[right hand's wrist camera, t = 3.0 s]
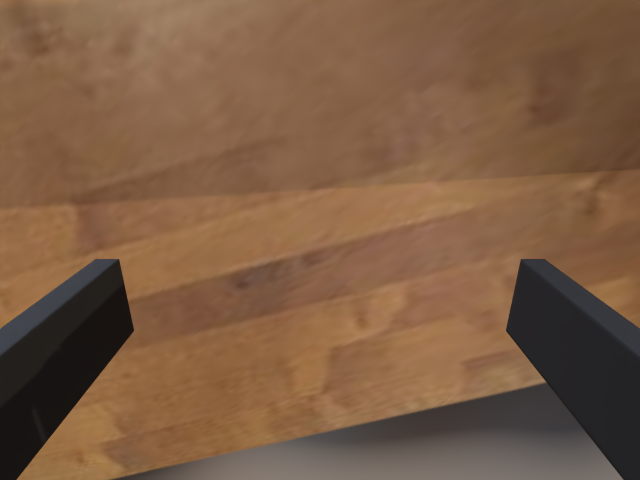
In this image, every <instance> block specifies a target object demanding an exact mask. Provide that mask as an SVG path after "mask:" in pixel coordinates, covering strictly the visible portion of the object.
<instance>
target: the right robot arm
mask: <svg viewBox="0 0 640 480" xmlns="http://www.w3.org/2000/svg"><path fill="white" fill-rule="evenodd" d="M133 331H134V328H133V323H132V319H131V314H130V309H129V304H128V300H127V295H126V290H125V285H124V281H123V276H122V271H121V266H120V262H119V259H95V260H94V261H92V262H91V263H90V264H88V265H87V266H86V267H84V268H83V269H81V270H80V271H79V272H77V273H76V274H75V275H73V276H72V277H70V278H69V279H68V280H66V281H65V282H64V283H62V284H61V285H60V286H58V287H57V288H55V289H54V290H53V291H51V292H50V293H49V294H47V295H46V296H44V297H43V298H42V299H40V300H39V301H38V302H36V303H35V304H34V305H32V306H31V307H29V308H28V309H27V310H25V311H24V312H23V313H21V314H20V315H18V316H17V317H16V318H14V319H13V320H12V321H10V322H9V323H7V324H6V325H5V326H3V327H2V328H1V329H0V480H16V479H17V478H18V477H19V476H20V474H21V473H22V472H23V471H24V469H25V468H26V467H27V466H28V464H29V463H30V462H31V460H32V459H33V458H34V457H35V455H36V454H37V453H38V452H39V450H40V449H41V448H42V447H43V445H44V444H45V443H46V441H47V440H48V439H49V438H50V436H51V435H52V434H53V433H54V431H55V430H56V429H57V428H58V426H59V425H60V424H61V422H62V421H63V420H64V419H65V417H66V416H67V415H68V414H69V412H70V411H71V410H72V409H73V407H74V406H75V405H76V404H77V402H78V401H79V400H80V398H81V397H82V396H83V395H84V393H85V392H86V391H87V390H88V388H89V387H90V386H91V385H92V383H93V382H94V381H95V379H96V378H97V377H98V376H99V374H100V373H101V372H102V371H103V369H104V368H105V367H106V366H107V364H108V363H109V362H110V360H111V359H112V358H113V357H114V355H115V354H116V353H117V352H118V350H119V349H120V348H121V347H122V345H123V344H124V343H125V341H126V340H127V339H128V338H129V336H130V335H131V334H132V333H133ZM506 331H507V333H508V334H509V335H510V336H511V338H512V339H513V340H514V341H515V343H516V344H517V345H518V347H519V348H520V349H521V350H522V352H523V353H524V354H525V355H526V357H527V358H528V359H529V360H530V362H531V363H532V364H533V366H534V367H535V368H536V369H537V371H538V372H539V373H540V374H541V376H542V377H543V378H544V379H545V381H546V382H547V383H548V384H549V386H550V387H551V388H552V390H553V391H554V392H555V393H556V395H557V396H558V397H559V398H560V400H561V401H562V402H563V404H564V405H565V406H566V407H567V409H568V410H569V411H570V412H571V414H572V415H573V416H574V417H575V419H576V420H577V421H578V422H579V424H580V425H581V426H582V428H583V429H584V430H585V431H586V433H587V434H588V435H589V436H590V438H591V439H592V440H593V441H594V443H595V444H596V445H597V447H598V448H599V449H600V450H601V452H602V453H603V454H604V455H605V457H606V458H607V459H608V460H609V462H610V463H611V464H612V466H613V467H614V468H615V469H616V471H617V472H618V473H619V474H620V476H621V477H622V478H623V479H624V480H640V329H639V328H638V327H637V326H635V325H634V324H633V323H631V322H630V321H628V320H627V319H626V318H624V317H623V316H622V315H620V314H619V313H617V312H616V311H615V310H613V309H612V308H611V307H609V306H608V305H606V304H605V303H604V302H602V301H601V300H600V299H598V298H597V297H596V296H594V295H593V294H591V293H590V292H589V291H587V290H586V289H585V288H583V287H582V286H580V285H579V284H578V283H576V282H575V281H574V280H572V279H571V278H570V277H568V276H567V275H565V274H564V273H563V272H561V271H560V270H559V269H557V268H556V267H554V266H553V265H552V264H550V263H549V262H548V261H546V260H545V259H521V262H520V266H519V271H518V276H517V281H516V285H515V290H514V295H513V300H512V304H511V309H510V314H509V319H508V323H507V328H506Z"/></svg>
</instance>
